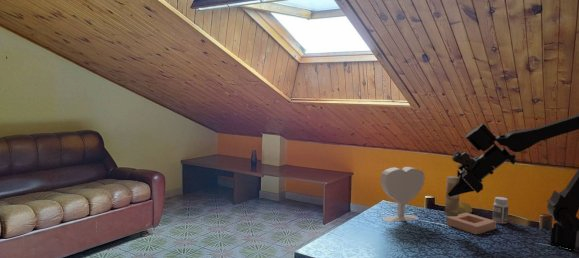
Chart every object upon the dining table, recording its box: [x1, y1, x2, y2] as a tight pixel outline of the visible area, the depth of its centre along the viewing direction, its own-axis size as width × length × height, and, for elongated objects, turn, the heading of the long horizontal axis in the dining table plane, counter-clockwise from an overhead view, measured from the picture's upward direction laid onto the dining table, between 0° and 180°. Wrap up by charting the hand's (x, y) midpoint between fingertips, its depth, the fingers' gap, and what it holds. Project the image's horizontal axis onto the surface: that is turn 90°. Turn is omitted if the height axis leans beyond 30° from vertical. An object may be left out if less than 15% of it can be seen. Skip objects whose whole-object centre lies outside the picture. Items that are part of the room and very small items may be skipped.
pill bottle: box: [491, 196, 509, 224], centre depth 146 cm, size 5×5×8 cm
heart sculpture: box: [380, 166, 426, 223], centre depth 146 cm, size 16×5×18 cm, turn 109°
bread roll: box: [458, 200, 473, 214], centre depth 157 cm, size 8×9×4 cm
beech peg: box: [444, 175, 461, 217], centre depth 133 cm, size 4×4×12 cm
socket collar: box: [446, 213, 497, 235], centre depth 140 cm, size 11×11×2 cm
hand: (448, 193), depth 133 cm, fingers closed on beech peg, 4 cm apart
